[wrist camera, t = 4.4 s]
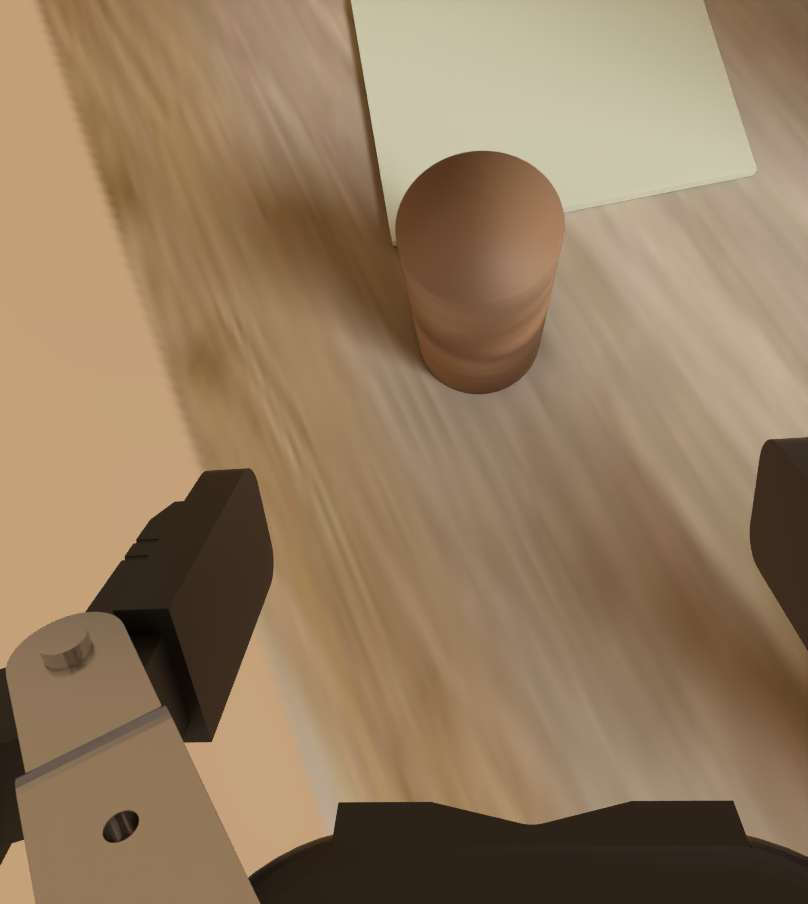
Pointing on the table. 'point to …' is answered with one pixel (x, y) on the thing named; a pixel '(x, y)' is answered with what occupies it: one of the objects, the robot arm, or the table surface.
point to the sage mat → (552, 93)
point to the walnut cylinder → (479, 266)
